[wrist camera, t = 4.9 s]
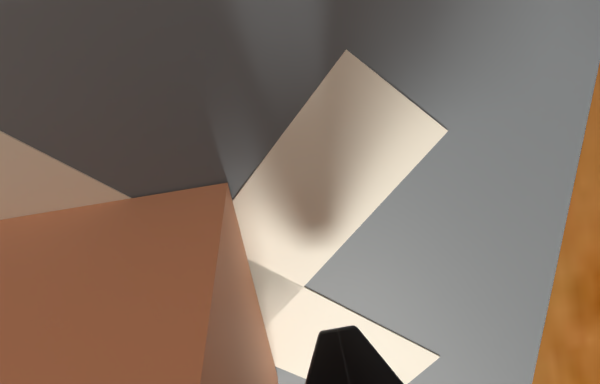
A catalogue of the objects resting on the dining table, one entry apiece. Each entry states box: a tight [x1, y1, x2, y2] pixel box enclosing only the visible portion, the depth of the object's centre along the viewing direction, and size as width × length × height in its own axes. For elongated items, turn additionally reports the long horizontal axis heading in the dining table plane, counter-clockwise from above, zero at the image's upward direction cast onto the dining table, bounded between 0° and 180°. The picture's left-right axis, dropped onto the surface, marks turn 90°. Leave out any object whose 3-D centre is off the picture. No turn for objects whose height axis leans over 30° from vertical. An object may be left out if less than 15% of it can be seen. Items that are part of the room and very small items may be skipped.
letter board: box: [0, 0, 600, 384], centre depth 10 cm, size 16×14×1 cm
